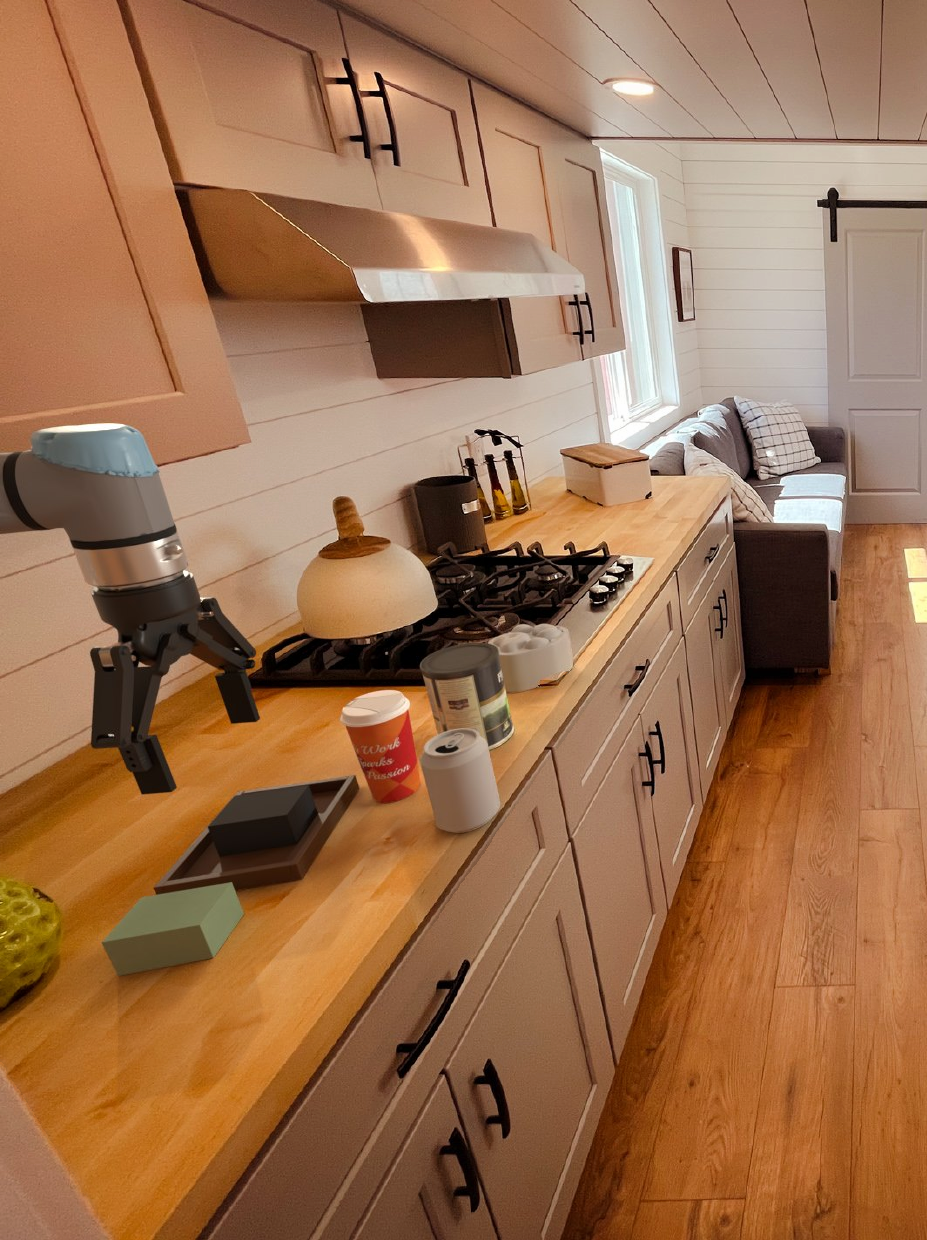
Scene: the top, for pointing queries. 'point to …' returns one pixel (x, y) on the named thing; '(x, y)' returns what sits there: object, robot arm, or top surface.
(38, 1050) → the top surface
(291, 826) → the black block
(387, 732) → the paper cup
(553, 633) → the lumpy-topped squat cylinder
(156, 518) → the robot arm
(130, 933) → the pad
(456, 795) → the can
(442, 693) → the coffee can
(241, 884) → the tray
